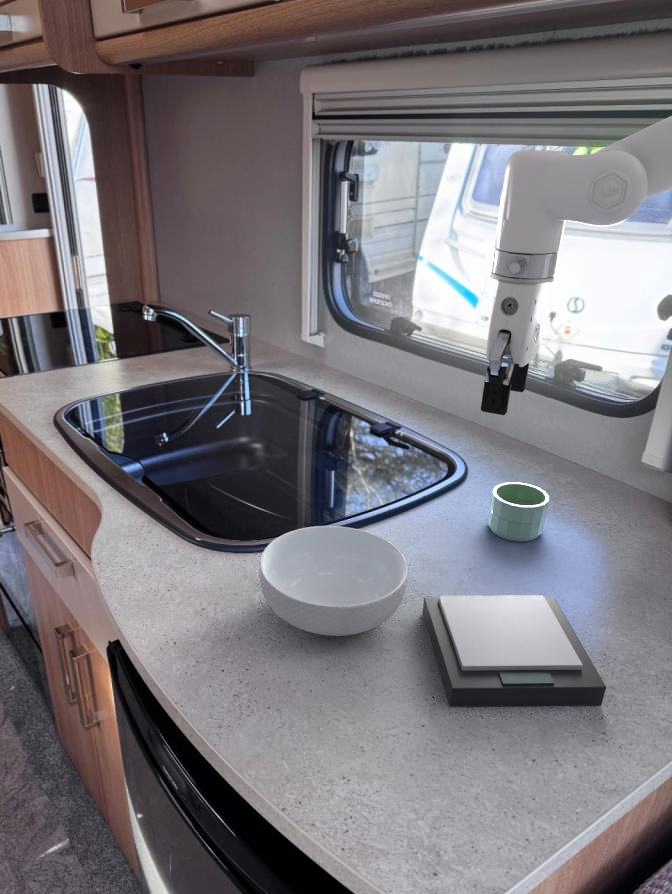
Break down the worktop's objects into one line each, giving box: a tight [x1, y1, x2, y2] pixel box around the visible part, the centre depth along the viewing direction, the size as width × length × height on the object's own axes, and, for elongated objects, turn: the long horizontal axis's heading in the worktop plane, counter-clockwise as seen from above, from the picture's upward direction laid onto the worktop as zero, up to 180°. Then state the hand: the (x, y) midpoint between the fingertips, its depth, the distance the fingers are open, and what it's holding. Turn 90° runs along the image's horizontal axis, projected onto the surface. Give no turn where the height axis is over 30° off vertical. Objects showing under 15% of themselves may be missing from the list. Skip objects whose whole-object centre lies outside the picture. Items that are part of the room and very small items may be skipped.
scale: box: [422, 594, 607, 708], centre depth 77 cm, size 15×15×3 cm
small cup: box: [487, 481, 550, 542], centre depth 100 cm, size 7×7×6 cm
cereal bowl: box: [258, 525, 409, 637], centre depth 82 cm, size 17×17×7 cm
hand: (503, 400), depth 95 cm, fingers open, 9 cm apart
